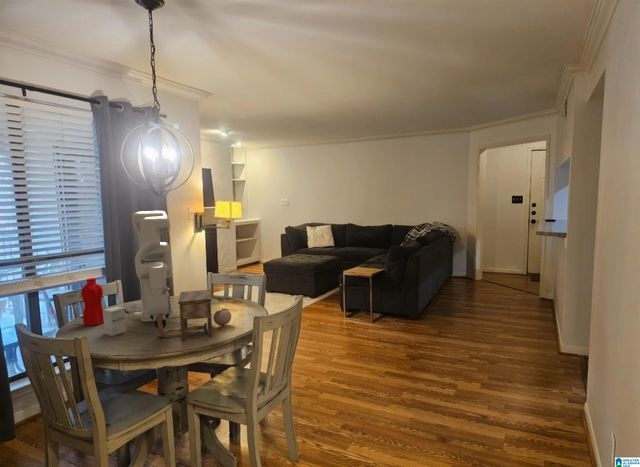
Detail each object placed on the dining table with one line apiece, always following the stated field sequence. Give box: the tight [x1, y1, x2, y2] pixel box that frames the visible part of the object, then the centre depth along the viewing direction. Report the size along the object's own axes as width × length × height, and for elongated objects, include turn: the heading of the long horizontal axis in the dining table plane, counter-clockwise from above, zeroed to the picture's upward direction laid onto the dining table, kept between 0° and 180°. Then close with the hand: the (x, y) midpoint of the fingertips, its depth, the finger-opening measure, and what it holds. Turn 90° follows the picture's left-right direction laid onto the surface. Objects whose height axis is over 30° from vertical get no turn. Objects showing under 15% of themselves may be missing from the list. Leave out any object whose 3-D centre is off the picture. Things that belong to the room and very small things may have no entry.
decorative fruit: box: [212, 307, 232, 327], centre depth 206 cm, size 9×8×10 cm
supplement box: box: [103, 305, 127, 337], centre depth 199 cm, size 7×7×13 cm
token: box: [190, 330, 201, 336], centre depth 197 cm, size 4×4×1 cm
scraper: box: [157, 314, 208, 338], centre depth 195 cm, size 23×9×11 cm, turn 106°
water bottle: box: [80, 277, 104, 327], centre depth 213 cm, size 9×11×25 cm
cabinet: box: [177, 289, 213, 342], centre depth 197 cm, size 15×19×19 cm
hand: (160, 327), depth 193 cm, fingers closed on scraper
